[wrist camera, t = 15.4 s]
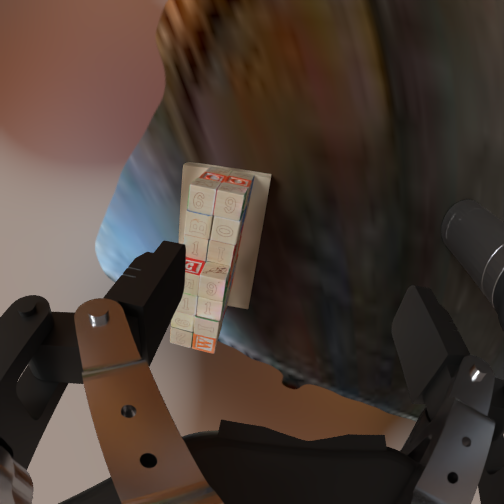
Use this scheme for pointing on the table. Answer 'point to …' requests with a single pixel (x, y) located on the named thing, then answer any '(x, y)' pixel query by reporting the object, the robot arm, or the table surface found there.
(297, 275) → the table surface
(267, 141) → the table surface
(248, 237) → the birch board
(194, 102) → the table surface
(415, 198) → the table surface
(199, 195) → the stack of blocks
